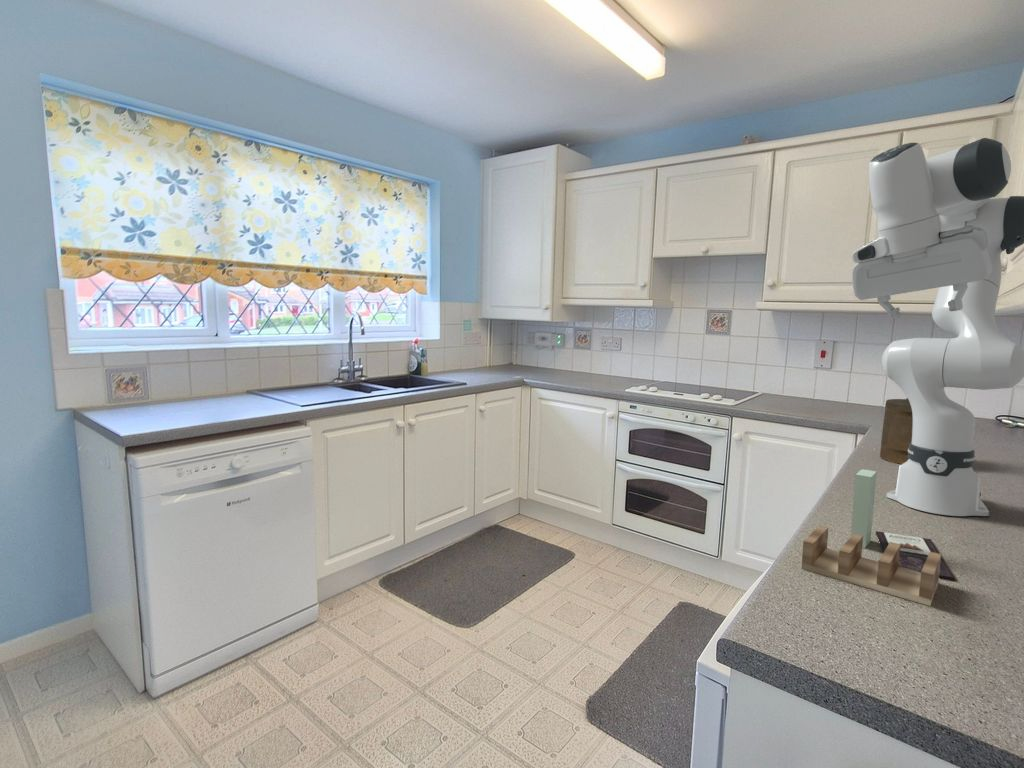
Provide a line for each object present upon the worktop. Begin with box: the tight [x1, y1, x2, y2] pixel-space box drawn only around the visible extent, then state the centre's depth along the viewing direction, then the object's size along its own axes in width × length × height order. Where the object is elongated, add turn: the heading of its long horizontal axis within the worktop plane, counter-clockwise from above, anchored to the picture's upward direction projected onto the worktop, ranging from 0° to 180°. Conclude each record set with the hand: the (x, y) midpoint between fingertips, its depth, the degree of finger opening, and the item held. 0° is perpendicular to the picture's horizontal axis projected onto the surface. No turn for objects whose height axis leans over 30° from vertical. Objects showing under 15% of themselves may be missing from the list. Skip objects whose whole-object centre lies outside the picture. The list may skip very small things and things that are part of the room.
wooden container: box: [879, 397, 913, 465], centre depth 165 cm, size 15×15×22 cm
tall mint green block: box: [850, 468, 878, 549], centre depth 105 cm, size 5×2×14 cm, turn 136°
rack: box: [801, 525, 942, 607], centre depth 92 cm, size 10×18×5 cm, turn 46°
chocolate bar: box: [875, 530, 956, 582], centre depth 100 cm, size 9×1×18 cm
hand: (924, 314), depth 98 cm, fingers open, 8 cm apart
